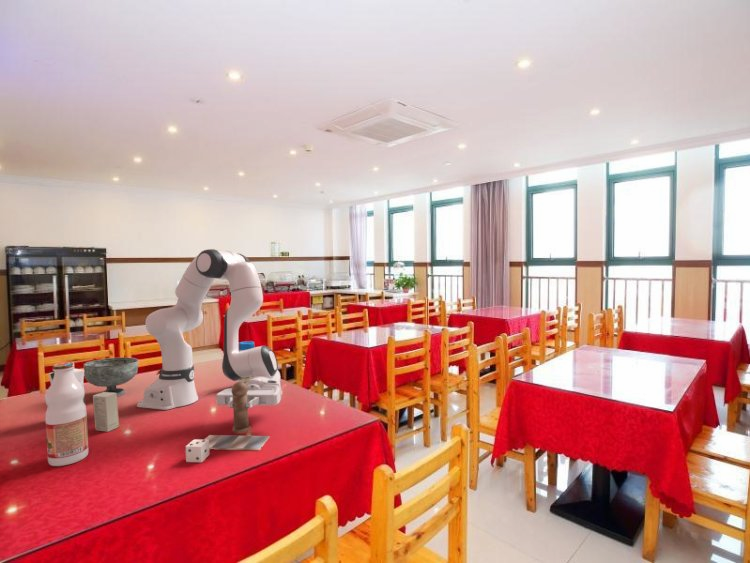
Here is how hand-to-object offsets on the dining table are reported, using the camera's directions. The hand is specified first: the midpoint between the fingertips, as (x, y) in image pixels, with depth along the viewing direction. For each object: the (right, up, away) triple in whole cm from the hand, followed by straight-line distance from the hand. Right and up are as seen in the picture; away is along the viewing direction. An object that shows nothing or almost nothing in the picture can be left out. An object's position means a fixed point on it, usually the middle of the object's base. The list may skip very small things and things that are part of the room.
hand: (239, 405), depth 123 cm
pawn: (0, -8, +1) cm, 8 cm away
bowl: (-73, -12, +52) cm, 90 cm away
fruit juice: (-47, -14, -7) cm, 50 cm away
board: (-2, -12, +2) cm, 13 cm away
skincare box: (-51, -13, +15) cm, 54 cm away
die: (-9, -13, -8) cm, 18 cm away
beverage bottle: (-17, -10, +61) cm, 64 cm away
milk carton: (-70, -13, +23) cm, 75 cm away
